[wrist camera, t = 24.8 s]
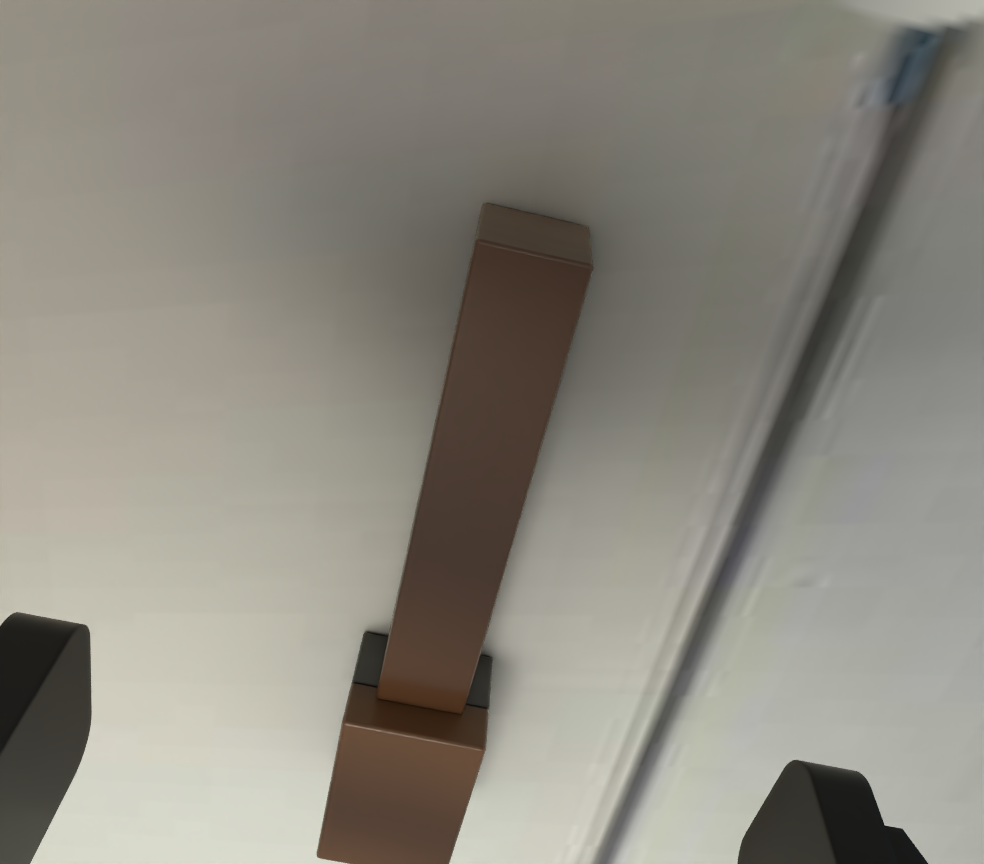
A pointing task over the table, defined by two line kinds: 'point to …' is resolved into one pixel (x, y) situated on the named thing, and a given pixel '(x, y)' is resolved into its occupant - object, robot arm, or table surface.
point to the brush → (457, 552)
